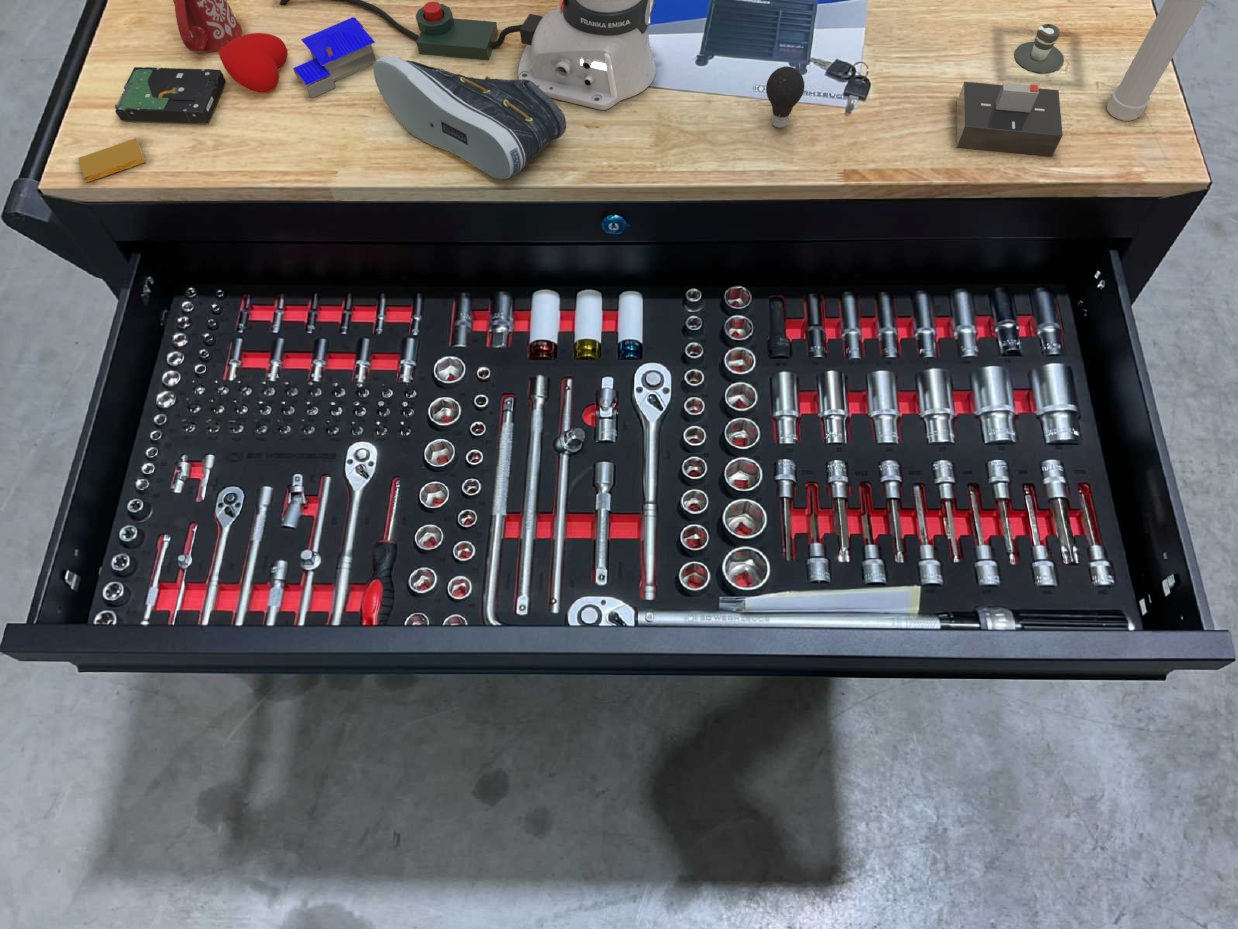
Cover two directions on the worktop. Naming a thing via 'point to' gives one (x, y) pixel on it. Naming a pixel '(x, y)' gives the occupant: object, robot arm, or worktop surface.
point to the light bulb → (784, 93)
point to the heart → (255, 60)
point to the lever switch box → (1007, 122)
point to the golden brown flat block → (111, 160)
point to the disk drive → (170, 95)
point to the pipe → (1153, 58)
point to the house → (335, 55)
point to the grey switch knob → (1016, 97)
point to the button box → (455, 36)
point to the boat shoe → (471, 114)
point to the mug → (206, 24)
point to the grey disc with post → (1041, 51)
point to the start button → (433, 11)
